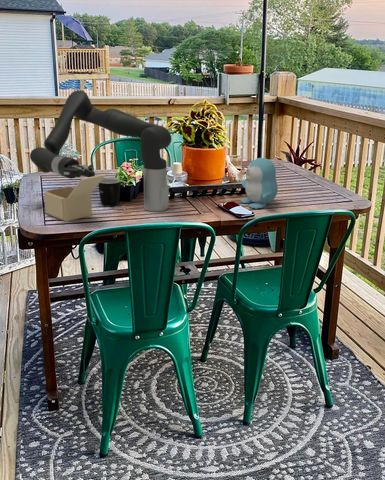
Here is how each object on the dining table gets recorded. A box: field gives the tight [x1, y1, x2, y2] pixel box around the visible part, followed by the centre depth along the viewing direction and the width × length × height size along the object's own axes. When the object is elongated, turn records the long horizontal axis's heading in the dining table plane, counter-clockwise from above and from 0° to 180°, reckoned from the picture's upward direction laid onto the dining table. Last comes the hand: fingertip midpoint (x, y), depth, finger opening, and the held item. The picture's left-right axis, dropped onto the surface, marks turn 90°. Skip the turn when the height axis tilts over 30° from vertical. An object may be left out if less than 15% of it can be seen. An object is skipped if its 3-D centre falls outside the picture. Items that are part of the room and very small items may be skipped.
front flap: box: [67, 173, 106, 199], centre depth 181 cm, size 14×10×1 cm
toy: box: [240, 157, 278, 210], centre depth 209 cm, size 24×14×20 cm, turn 21°
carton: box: [43, 185, 93, 222], centre depth 192 cm, size 14×13×9 cm
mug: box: [97, 177, 121, 207], centre depth 205 cm, size 12×9×10 cm
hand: (92, 174), depth 176 cm, fingers closed
